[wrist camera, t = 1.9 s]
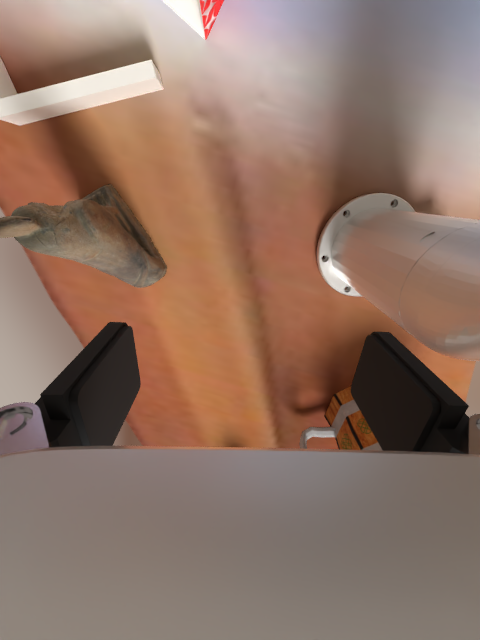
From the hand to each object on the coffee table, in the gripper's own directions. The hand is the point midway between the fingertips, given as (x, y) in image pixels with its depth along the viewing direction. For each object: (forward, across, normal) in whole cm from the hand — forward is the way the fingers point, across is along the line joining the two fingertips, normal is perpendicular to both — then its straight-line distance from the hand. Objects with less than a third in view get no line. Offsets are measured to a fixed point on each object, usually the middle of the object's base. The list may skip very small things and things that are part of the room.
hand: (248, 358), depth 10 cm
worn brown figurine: (+25, +14, 0) cm, 28 cm away
